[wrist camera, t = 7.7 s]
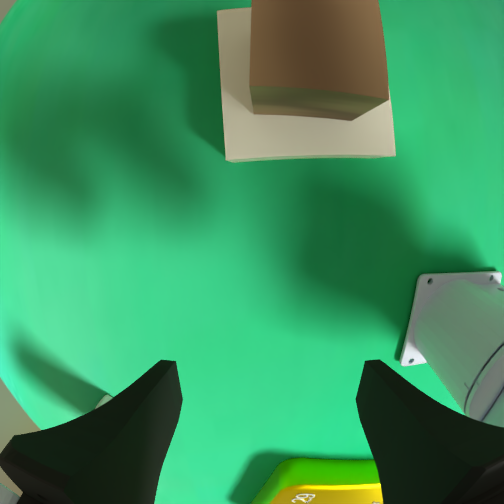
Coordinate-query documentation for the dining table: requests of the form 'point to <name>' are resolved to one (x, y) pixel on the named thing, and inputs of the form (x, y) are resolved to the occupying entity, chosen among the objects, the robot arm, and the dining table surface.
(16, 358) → the dining table surface
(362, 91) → the walnut cube
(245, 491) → the dining table surface
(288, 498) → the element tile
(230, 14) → the cream base block
